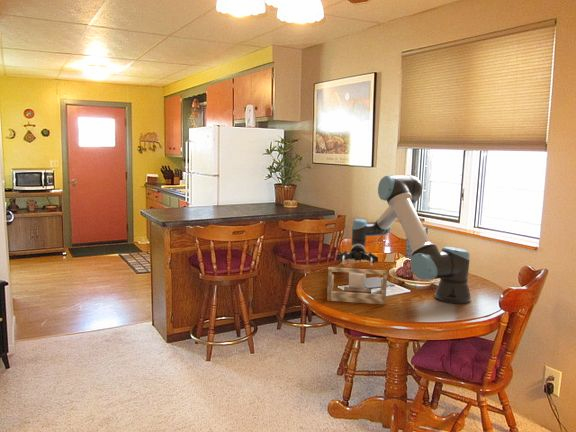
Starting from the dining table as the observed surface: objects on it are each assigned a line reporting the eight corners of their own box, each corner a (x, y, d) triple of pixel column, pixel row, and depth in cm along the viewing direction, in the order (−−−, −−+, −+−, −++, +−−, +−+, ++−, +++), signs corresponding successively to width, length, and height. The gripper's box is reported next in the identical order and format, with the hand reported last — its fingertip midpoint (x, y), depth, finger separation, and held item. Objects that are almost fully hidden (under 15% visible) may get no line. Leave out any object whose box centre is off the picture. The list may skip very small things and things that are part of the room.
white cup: (364, 296, 216) (365, 275, 214) (347, 295, 217) (348, 274, 216) (365, 291, 223) (366, 270, 222) (348, 290, 225) (349, 269, 223)
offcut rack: (383, 289, 226) (385, 259, 224) (385, 304, 205) (387, 271, 203) (330, 286, 230) (331, 256, 228) (327, 300, 209) (328, 267, 207)
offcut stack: (371, 298, 214) (372, 288, 213) (372, 302, 208) (372, 292, 208) (340, 296, 216) (340, 286, 215) (340, 300, 210) (340, 290, 209)
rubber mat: (394, 285, 233) (394, 284, 232) (367, 288, 227) (367, 287, 227) (378, 277, 246) (378, 276, 246) (352, 280, 241) (352, 279, 241)
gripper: (381, 260, 249) (383, 271, 229) (333, 257, 253) (331, 268, 232) (382, 246, 248) (383, 256, 227) (334, 243, 252) (331, 253, 231)
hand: (357, 262), depth 230 cm, fingers open, 13 cm apart
